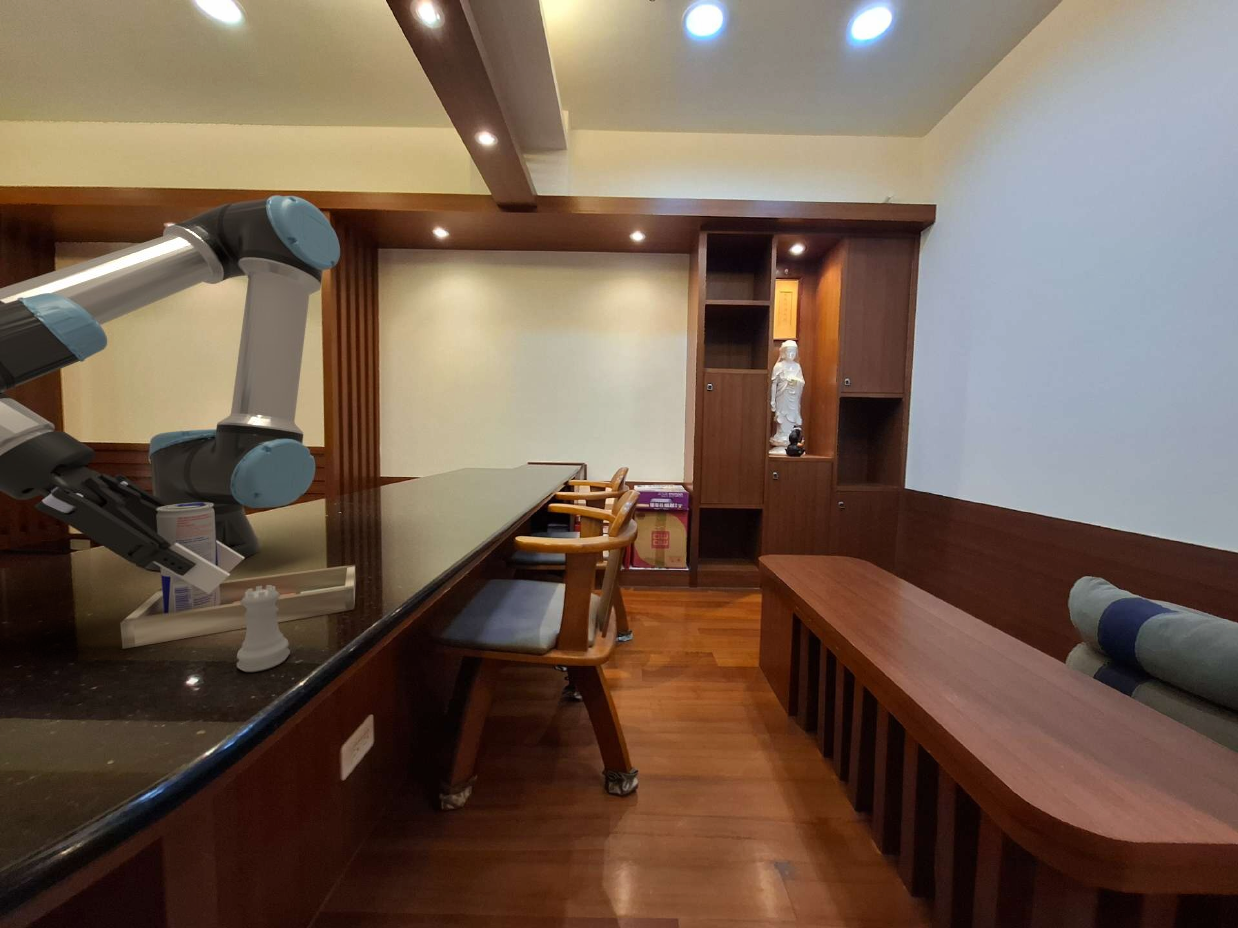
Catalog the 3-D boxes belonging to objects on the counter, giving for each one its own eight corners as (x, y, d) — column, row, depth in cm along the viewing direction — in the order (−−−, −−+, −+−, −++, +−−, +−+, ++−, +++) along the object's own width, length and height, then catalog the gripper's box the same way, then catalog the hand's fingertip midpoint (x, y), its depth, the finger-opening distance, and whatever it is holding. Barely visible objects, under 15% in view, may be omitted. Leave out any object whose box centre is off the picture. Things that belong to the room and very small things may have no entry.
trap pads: (233, 603, 60) (233, 601, 60) (295, 594, 64) (295, 592, 64) (215, 628, 53) (215, 626, 53) (287, 617, 57) (287, 614, 57)
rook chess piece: (260, 676, 44) (255, 600, 43) (224, 670, 44) (219, 595, 44) (301, 653, 48) (297, 583, 47) (268, 648, 49) (264, 580, 48)
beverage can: (220, 608, 59) (213, 499, 57) (222, 621, 55) (214, 505, 54) (166, 619, 55) (156, 503, 54) (164, 634, 52) (154, 510, 50)
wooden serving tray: (162, 610, 58) (160, 589, 57) (355, 582, 69) (354, 564, 68) (122, 648, 48) (120, 622, 48) (354, 609, 59) (353, 588, 59)
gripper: (43, 468, 54) (223, 573, 64) (-104, 491, 37) (172, 630, 47) (101, 426, 56) (267, 534, 66) (-13, 429, 39) (233, 575, 49)
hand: (227, 574), depth 56 cm, fingers open, 7 cm apart
